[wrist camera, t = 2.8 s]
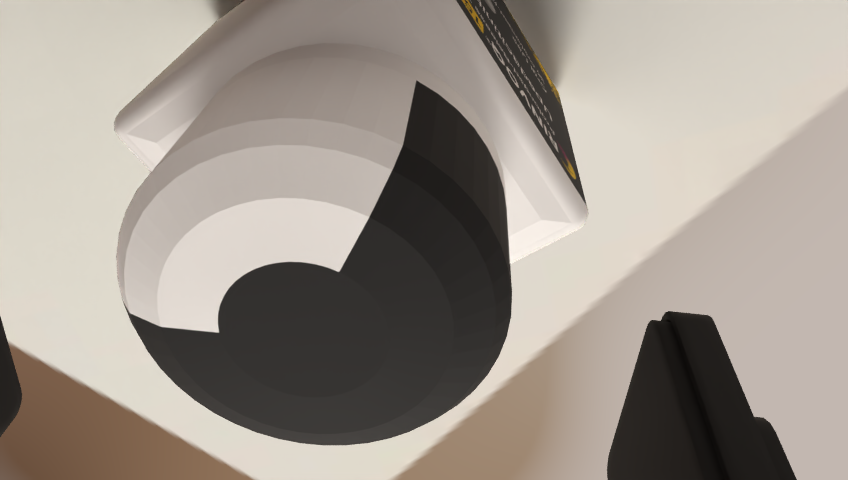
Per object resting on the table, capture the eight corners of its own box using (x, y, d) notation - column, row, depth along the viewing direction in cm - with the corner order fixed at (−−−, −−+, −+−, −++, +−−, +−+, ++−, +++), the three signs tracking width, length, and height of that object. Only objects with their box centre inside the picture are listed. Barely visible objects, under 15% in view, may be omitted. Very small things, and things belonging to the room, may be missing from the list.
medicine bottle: (563, 98, 21) (641, 398, 11) (363, 213, 24) (274, 545, 13) (422, -135, 18) (351, -21, 8) (210, 24, 21) (-51, 266, 10)
